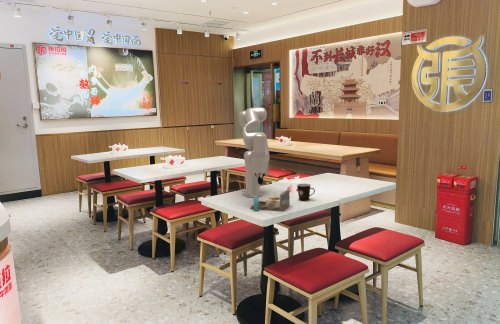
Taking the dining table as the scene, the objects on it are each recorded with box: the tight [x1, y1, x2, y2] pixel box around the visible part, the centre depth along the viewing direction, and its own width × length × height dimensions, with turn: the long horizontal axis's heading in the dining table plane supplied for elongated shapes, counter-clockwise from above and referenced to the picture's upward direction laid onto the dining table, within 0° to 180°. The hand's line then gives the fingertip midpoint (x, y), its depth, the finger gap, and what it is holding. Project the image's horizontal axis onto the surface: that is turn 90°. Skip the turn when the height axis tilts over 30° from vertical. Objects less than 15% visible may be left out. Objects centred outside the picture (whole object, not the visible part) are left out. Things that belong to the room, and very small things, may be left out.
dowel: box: [253, 197, 260, 212], centre depth 225 cm, size 3×3×8 cm
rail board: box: [249, 189, 291, 212], centre depth 231 cm, size 21×13×10 cm, turn 68°
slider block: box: [265, 196, 280, 208], centre depth 230 cm, size 9×9×4 cm
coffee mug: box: [296, 183, 316, 202], centre depth 245 cm, size 12×9×10 cm
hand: (260, 183), depth 232 cm, fingers closed
